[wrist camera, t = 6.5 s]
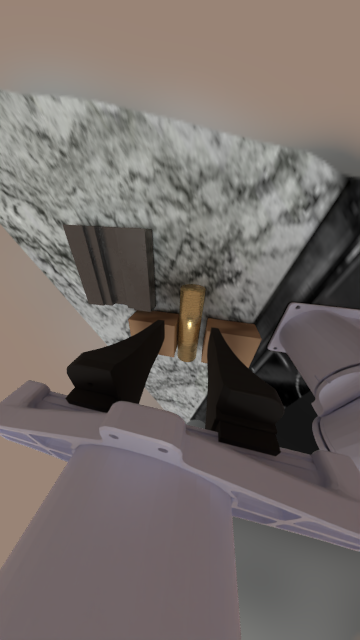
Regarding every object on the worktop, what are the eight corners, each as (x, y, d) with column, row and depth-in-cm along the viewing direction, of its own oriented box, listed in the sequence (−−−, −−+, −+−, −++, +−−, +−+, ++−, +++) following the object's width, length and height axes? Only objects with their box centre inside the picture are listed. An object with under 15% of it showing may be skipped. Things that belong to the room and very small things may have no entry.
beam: (254, 324, 20) (261, 338, 17) (242, 353, 23) (247, 370, 20) (138, 308, 23) (128, 319, 20) (142, 337, 26) (133, 349, 23)
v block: (152, 229, 16) (144, 228, 15) (155, 305, 22) (150, 312, 20) (77, 225, 18) (62, 224, 16) (98, 298, 23) (88, 303, 21)
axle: (186, 282, 20) (176, 289, 17) (208, 286, 18) (201, 294, 16) (182, 346, 26) (174, 357, 23) (198, 352, 25) (192, 364, 22)
